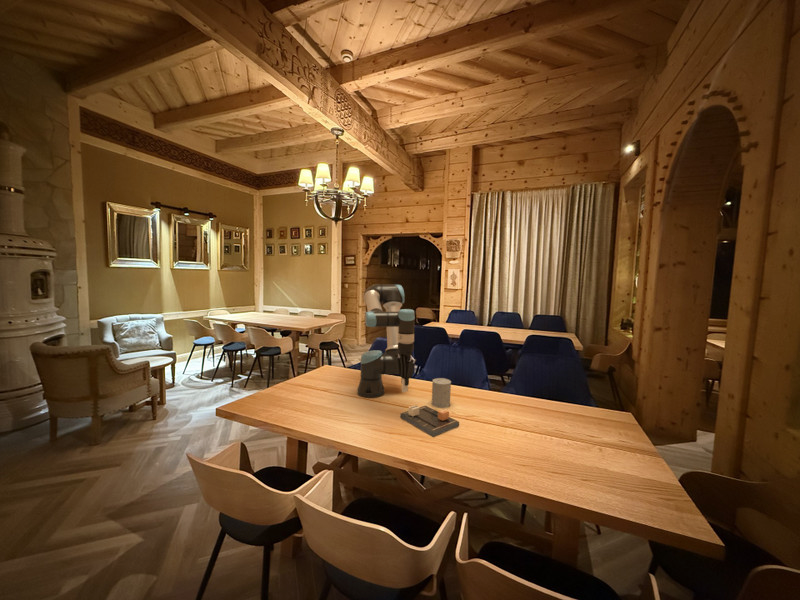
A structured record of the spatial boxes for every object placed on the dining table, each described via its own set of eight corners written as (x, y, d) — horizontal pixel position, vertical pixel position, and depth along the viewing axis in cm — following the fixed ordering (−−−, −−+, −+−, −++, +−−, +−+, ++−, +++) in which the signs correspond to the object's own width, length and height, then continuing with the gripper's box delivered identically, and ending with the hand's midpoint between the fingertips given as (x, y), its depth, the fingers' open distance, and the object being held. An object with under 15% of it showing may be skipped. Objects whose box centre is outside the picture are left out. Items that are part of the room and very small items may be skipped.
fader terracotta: (437, 418, 145) (437, 410, 144) (443, 415, 147) (444, 408, 147) (442, 420, 142) (442, 413, 142) (448, 418, 145) (449, 410, 145)
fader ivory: (408, 414, 148) (408, 406, 148) (414, 411, 151) (415, 404, 150) (412, 416, 146) (412, 408, 146) (419, 414, 148) (419, 406, 148)
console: (400, 417, 150) (400, 413, 150) (425, 409, 160) (425, 405, 160) (433, 436, 133) (433, 432, 133) (459, 426, 143) (459, 421, 143)
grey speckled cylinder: (449, 401, 171) (450, 378, 170) (450, 408, 162) (451, 384, 161) (431, 400, 172) (432, 377, 171) (431, 407, 162) (432, 383, 161)
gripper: (391, 340, 154) (390, 389, 155) (408, 345, 144) (407, 397, 145) (403, 339, 159) (402, 386, 160) (421, 343, 148) (419, 393, 150)
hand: (404, 391), depth 153 cm, fingers closed
